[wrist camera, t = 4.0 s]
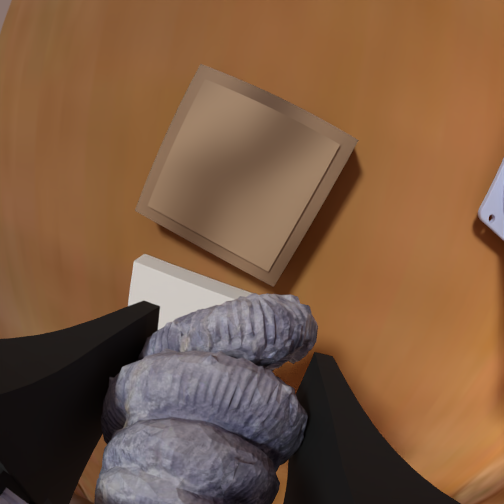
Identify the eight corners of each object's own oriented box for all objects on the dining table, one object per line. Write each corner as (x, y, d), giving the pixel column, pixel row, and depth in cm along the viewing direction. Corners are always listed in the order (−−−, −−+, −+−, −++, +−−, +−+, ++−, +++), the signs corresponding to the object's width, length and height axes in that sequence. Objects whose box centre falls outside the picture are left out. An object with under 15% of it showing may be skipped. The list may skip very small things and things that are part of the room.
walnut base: (352, 141, 16) (358, 140, 14) (276, 273, 19) (273, 288, 17) (211, 72, 16) (199, 63, 14) (150, 204, 19) (133, 211, 17)
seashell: (261, 384, 14) (209, 593, 4) (163, 317, 13) (23, 500, 4) (342, 306, 12) (375, 575, 3) (231, 221, 12) (29, 438, 2)
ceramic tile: (258, 295, 20) (255, 306, 19) (226, 382, 23) (222, 395, 21) (144, 253, 20) (134, 261, 19) (131, 344, 23) (123, 354, 22)
